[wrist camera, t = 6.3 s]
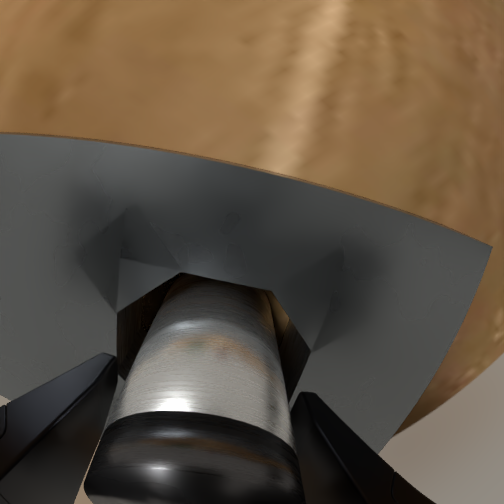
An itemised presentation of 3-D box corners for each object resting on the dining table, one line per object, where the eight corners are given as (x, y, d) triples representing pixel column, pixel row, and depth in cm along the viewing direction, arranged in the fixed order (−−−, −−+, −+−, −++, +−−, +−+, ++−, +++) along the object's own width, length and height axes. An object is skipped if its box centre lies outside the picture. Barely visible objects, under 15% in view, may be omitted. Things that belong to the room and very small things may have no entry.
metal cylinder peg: (282, 276, 11) (348, 481, 3) (256, 363, 12) (271, 549, 4) (172, 253, 10) (62, 436, 3) (160, 344, 12) (100, 522, 4)
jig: (444, 225, 10) (492, 247, 8) (349, 426, 14) (364, 469, 11) (-18, 131, 8) (-65, 133, 5) (-8, 342, 11) (-37, 371, 9)
